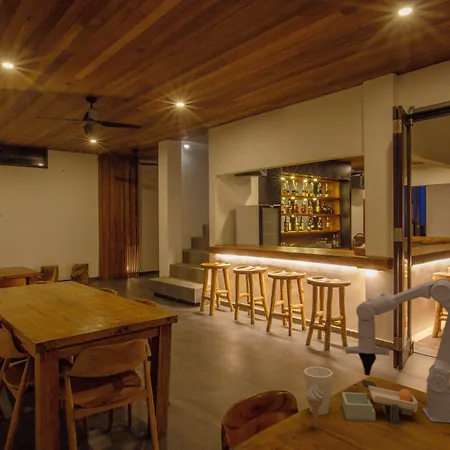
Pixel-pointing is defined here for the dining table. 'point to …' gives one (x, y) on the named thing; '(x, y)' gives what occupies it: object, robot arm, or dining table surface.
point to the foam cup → (320, 385)
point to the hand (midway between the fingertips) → (367, 374)
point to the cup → (357, 407)
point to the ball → (405, 395)
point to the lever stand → (392, 414)
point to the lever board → (390, 398)
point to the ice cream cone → (315, 400)
